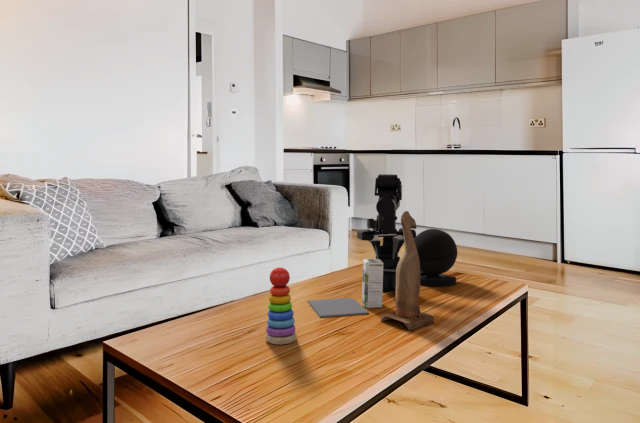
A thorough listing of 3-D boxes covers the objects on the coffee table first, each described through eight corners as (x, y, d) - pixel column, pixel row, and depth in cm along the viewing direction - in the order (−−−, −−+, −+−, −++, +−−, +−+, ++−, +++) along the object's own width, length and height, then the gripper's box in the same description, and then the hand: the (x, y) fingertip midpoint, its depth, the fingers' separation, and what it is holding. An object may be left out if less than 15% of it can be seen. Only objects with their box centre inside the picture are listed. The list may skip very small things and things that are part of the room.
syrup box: (361, 302, 158) (361, 258, 157) (379, 302, 159) (380, 258, 157) (364, 308, 153) (365, 262, 151) (383, 307, 153) (383, 261, 152)
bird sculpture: (436, 324, 139) (440, 211, 137) (410, 332, 131) (414, 213, 129) (404, 315, 148) (408, 208, 145) (378, 322, 140) (381, 210, 137)
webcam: (465, 284, 182) (467, 230, 180) (426, 289, 176) (428, 233, 174) (437, 274, 198) (438, 225, 196) (400, 278, 192) (401, 227, 190)
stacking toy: (301, 336, 128) (301, 265, 126) (289, 347, 121) (289, 272, 119) (273, 333, 131) (272, 263, 129) (260, 343, 123) (259, 270, 121)
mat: (352, 299, 163) (352, 297, 163) (368, 313, 147) (368, 312, 147) (308, 302, 159) (308, 300, 159) (320, 317, 144) (320, 315, 144)
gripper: (403, 209, 170) (402, 254, 172) (352, 211, 166) (351, 256, 168) (417, 213, 160) (416, 260, 161) (362, 214, 155) (362, 263, 157)
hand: (386, 260), depth 162 cm, fingers open, 5 cm apart
